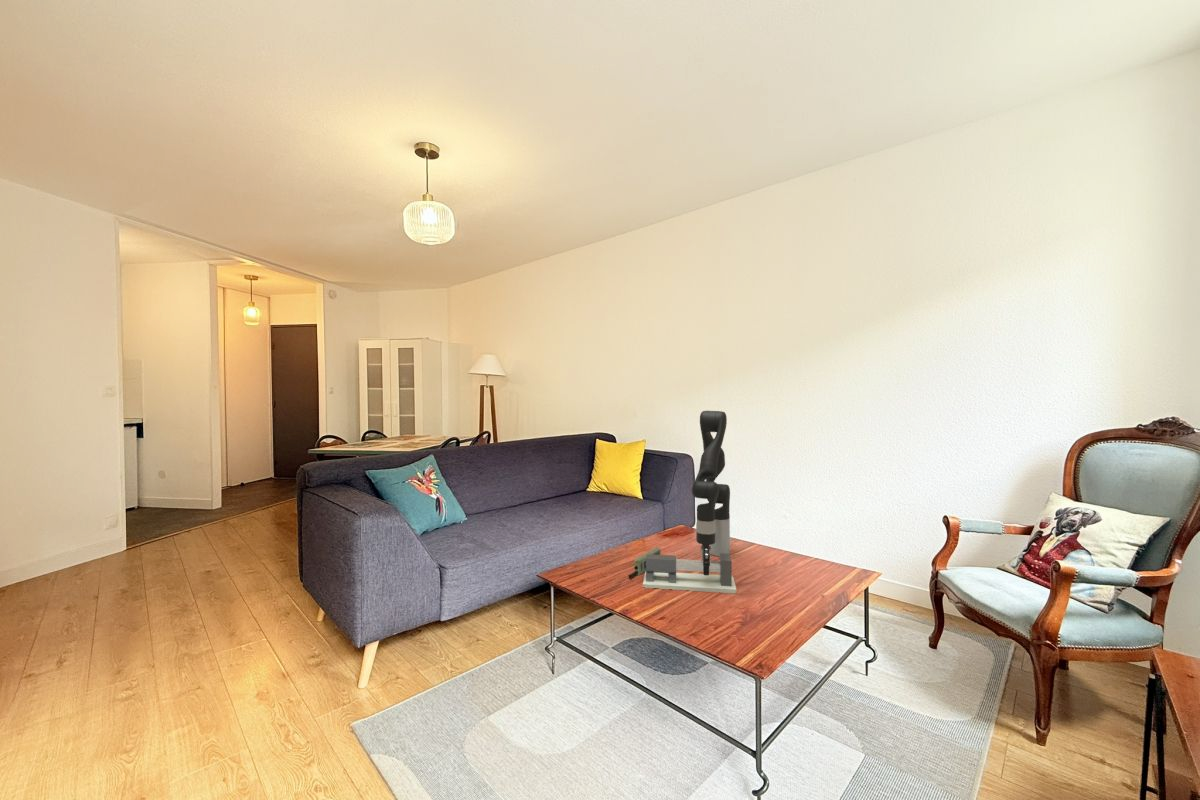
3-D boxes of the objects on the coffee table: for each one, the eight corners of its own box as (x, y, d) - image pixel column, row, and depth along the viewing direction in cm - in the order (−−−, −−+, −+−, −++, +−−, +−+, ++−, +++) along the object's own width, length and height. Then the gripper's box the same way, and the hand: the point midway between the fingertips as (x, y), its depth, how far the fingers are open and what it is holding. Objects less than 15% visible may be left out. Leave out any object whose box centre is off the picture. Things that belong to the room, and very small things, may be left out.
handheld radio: (662, 562, 218) (633, 580, 197) (655, 561, 219) (626, 579, 199) (661, 547, 218) (632, 564, 197) (655, 546, 219) (626, 563, 199)
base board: (645, 574, 203) (645, 570, 203) (732, 579, 197) (732, 575, 197) (642, 587, 189) (642, 584, 189) (736, 593, 183) (736, 589, 183)
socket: (719, 577, 195) (719, 553, 195) (729, 578, 194) (729, 553, 194) (721, 585, 187) (720, 560, 187) (731, 586, 186) (731, 560, 186)
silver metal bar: (666, 566, 196) (666, 558, 196) (726, 569, 192) (726, 561, 192) (665, 569, 193) (665, 561, 193) (726, 572, 189) (726, 564, 189)
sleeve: (647, 573, 200) (647, 553, 200) (676, 575, 198) (676, 554, 198) (645, 581, 192) (645, 559, 192) (676, 583, 190) (675, 561, 190)
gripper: (716, 536, 184) (716, 580, 184) (714, 526, 198) (714, 567, 198) (696, 535, 185) (697, 579, 185) (695, 525, 199) (696, 566, 199)
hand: (706, 572), depth 192 cm, fingers closed on silver metal bar, 3 cm apart
